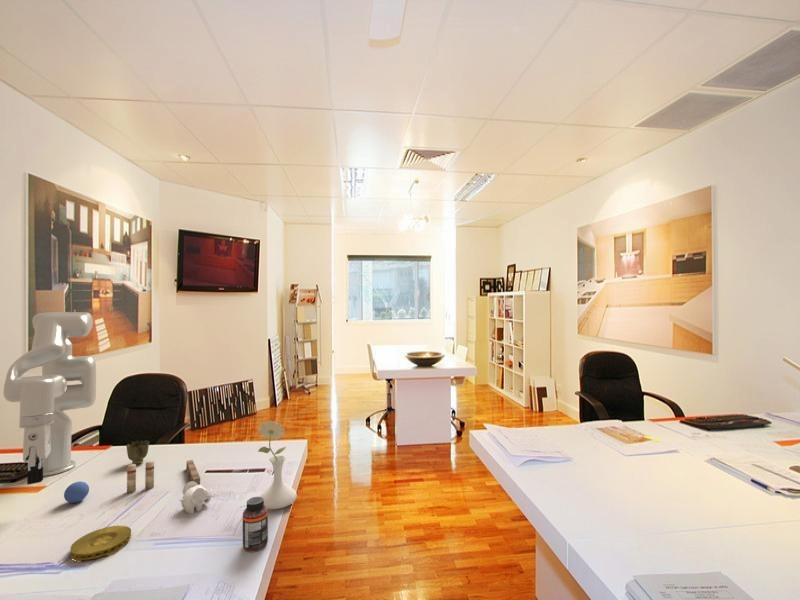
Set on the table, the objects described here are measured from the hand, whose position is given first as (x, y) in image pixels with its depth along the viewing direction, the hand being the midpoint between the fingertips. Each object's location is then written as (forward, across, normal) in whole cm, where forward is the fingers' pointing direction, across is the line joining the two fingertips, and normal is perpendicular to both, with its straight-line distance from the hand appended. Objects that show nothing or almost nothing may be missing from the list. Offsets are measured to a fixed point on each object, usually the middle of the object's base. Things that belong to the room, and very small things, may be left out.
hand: (35, 482), depth 112 cm
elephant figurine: (+10, -26, -40) cm, 48 cm away
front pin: (+9, -1, -24) cm, 25 cm away
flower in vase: (+10, -38, -60) cm, 71 cm away
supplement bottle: (+11, -56, -49) cm, 75 cm away
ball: (+6, +1, -10) cm, 11 cm away
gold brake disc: (+10, -33, -18) cm, 39 cm away
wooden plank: (+9, -1, -42) cm, 42 cm away
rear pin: (+9, -2, -28) cm, 30 cm away
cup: (+8, +27, -26) cm, 38 cm away
